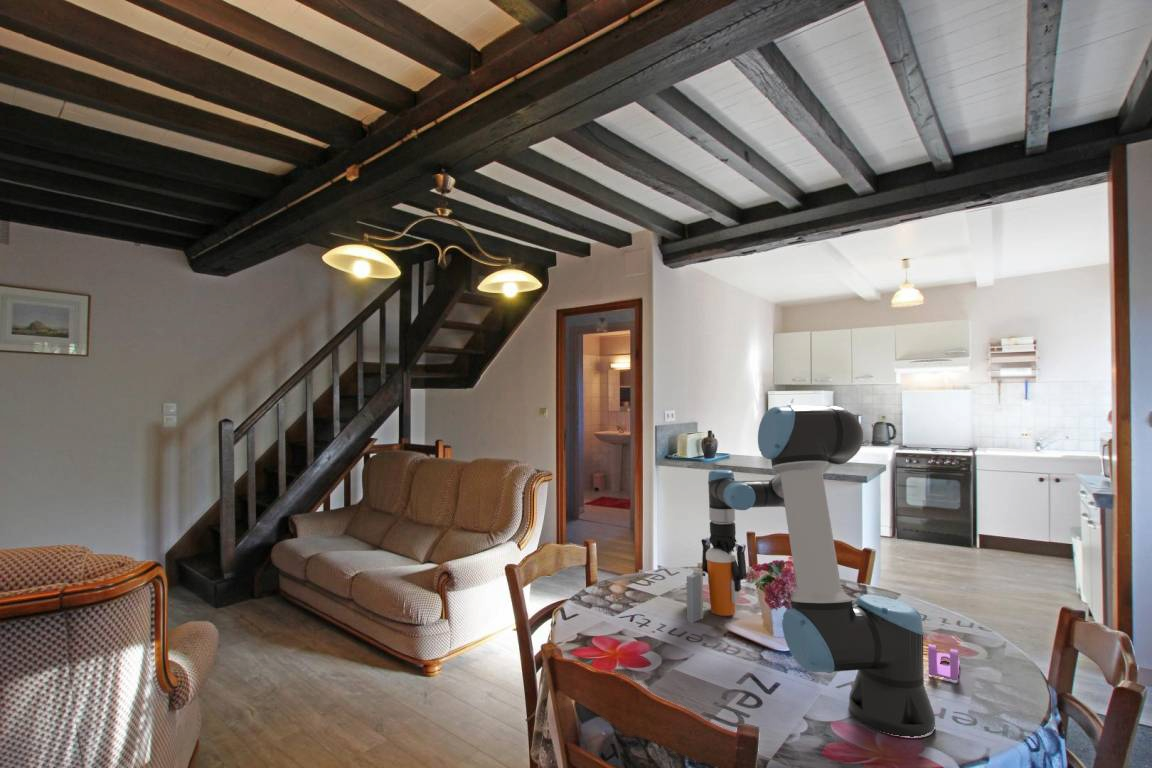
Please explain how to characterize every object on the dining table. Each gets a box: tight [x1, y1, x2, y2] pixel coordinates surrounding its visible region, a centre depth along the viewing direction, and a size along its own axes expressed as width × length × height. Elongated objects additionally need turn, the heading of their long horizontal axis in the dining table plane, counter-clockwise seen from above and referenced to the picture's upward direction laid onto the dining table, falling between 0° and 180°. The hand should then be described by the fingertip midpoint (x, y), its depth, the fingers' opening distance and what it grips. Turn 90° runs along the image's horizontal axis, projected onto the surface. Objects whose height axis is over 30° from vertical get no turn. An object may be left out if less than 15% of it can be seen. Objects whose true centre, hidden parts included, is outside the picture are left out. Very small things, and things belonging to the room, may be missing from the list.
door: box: [697, 562, 706, 577], centre depth 168 cm, size 13×2×12 cm, turn 168°
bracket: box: [927, 643, 961, 682], centre depth 130 cm, size 13×6×7 cm, turn 143°
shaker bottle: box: [706, 545, 737, 617], centre depth 164 cm, size 9×9×20 cm
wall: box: [686, 567, 704, 624], centre depth 166 cm, size 24×3×14 cm, turn 136°
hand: (724, 598), depth 163 cm, fingers open, 6 cm apart
